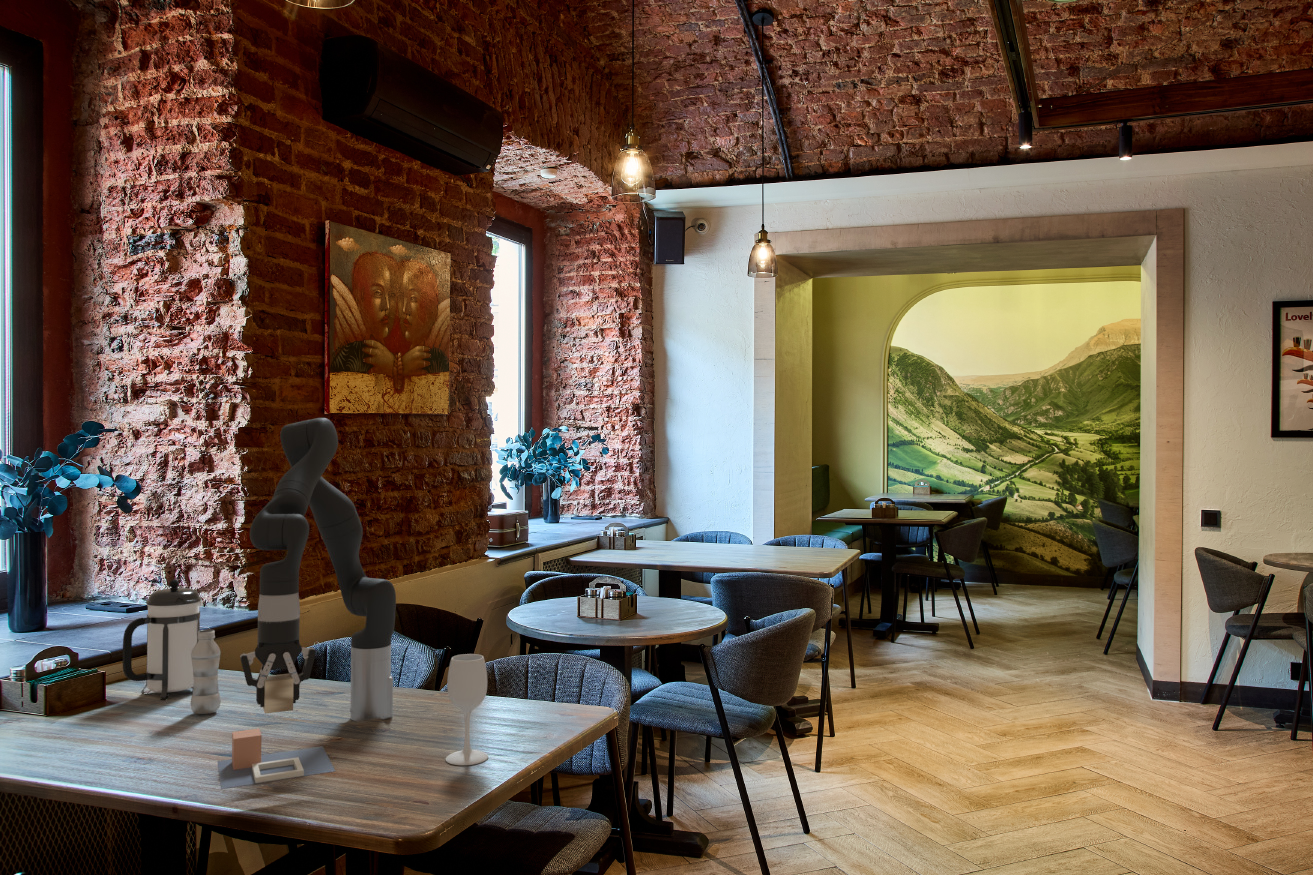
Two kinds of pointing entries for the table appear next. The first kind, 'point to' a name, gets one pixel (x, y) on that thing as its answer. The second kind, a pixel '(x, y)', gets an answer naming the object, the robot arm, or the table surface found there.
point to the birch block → (278, 693)
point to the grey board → (276, 767)
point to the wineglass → (467, 700)
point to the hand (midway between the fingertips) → (277, 703)
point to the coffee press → (167, 640)
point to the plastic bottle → (205, 674)
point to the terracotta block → (246, 748)
